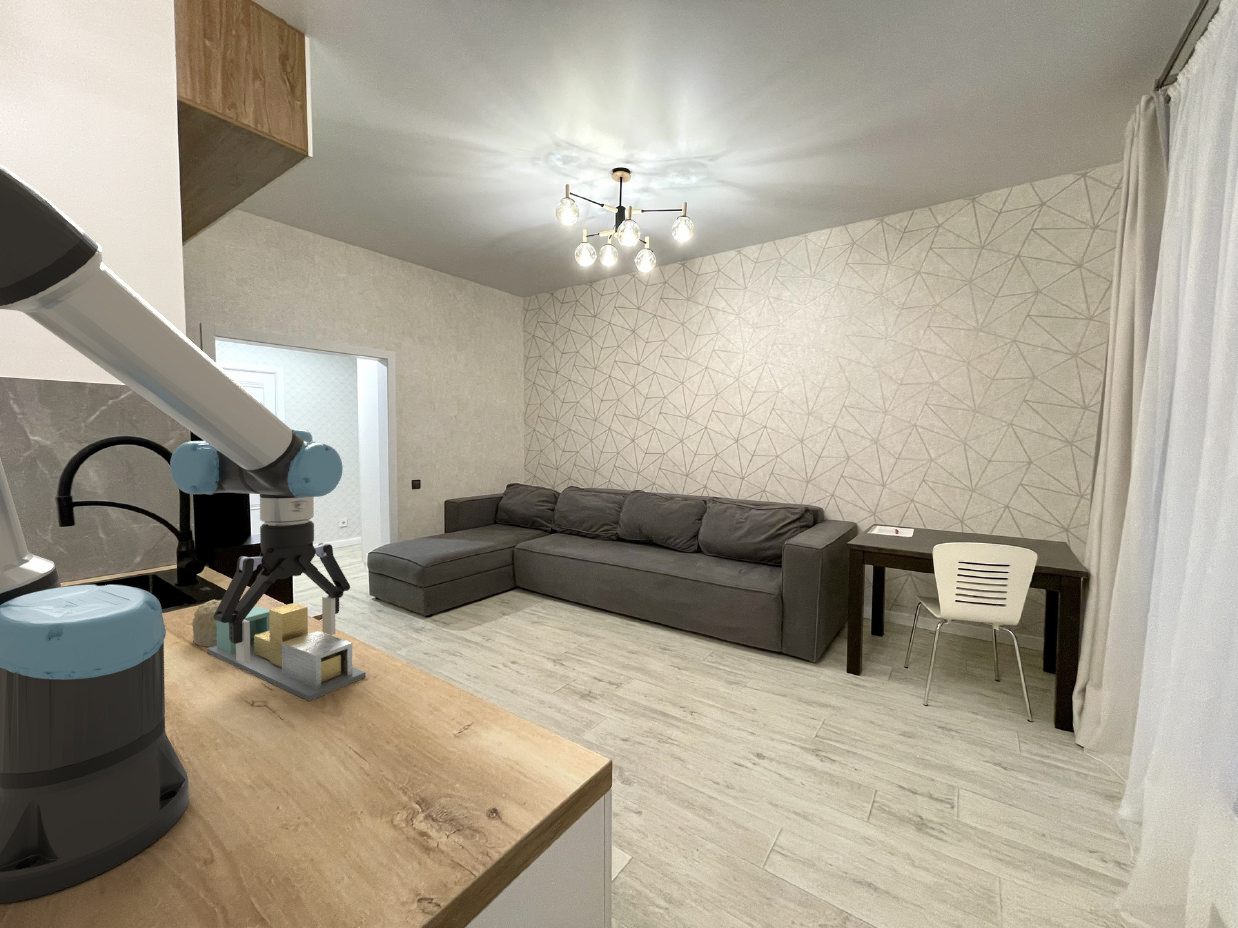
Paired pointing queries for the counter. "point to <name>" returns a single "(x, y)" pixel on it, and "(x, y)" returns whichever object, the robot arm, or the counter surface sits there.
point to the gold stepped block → (286, 627)
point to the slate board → (274, 675)
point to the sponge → (205, 624)
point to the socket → (257, 626)
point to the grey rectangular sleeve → (313, 657)
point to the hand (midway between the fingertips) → (289, 646)
